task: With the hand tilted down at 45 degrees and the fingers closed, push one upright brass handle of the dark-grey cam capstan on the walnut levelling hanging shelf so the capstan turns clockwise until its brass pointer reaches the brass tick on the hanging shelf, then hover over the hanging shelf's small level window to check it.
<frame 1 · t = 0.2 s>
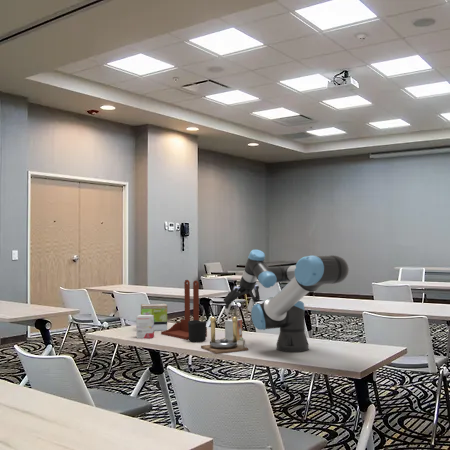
hand: (237, 311, 274), 15 cm above the table, tool tilted 35°, fingers open, 13 cm apart
hanging shelf: (183, 336, 293), on the table
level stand: (224, 349, 255), on the table
ink box: (145, 337, 288), on the table
cam capstan: (223, 331, 256), point 8 cm above the table, hinge at 0.0°
pen holder: (197, 341, 277), on the table
small box: (233, 340, 278), on the table
tea box: (153, 330, 314), on the table
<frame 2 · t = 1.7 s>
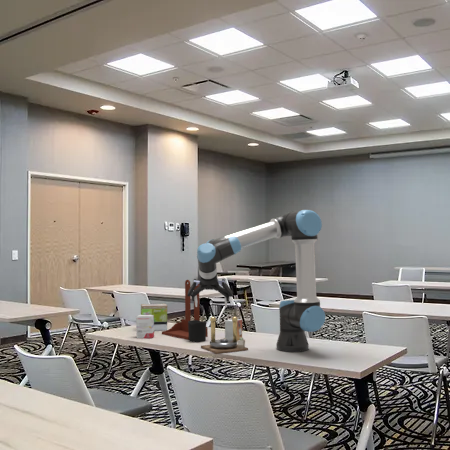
hand: (211, 304, 246), 22 cm above the table, tool tilted 45°, fingers open, 13 cm apart
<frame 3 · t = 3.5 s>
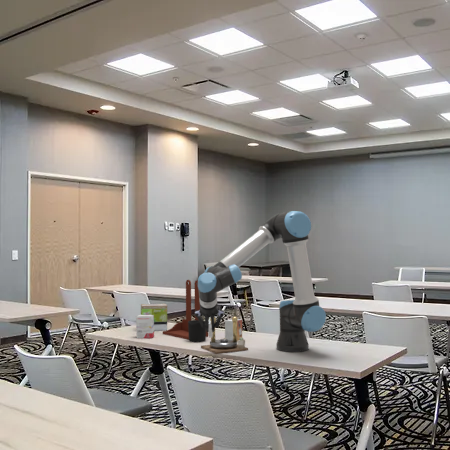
hand: (210, 335, 246), 8 cm above the table, tool tilted 45°, fingers closed
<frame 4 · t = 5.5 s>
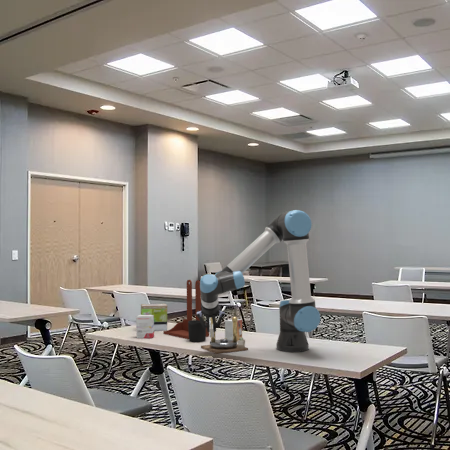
hand: (211, 334, 254), 7 cm above the table, tool tilted 45°, fingers closed
cam capstan: (223, 331, 256), point 8 cm above the table, hinge at 3.5°, touching gripper
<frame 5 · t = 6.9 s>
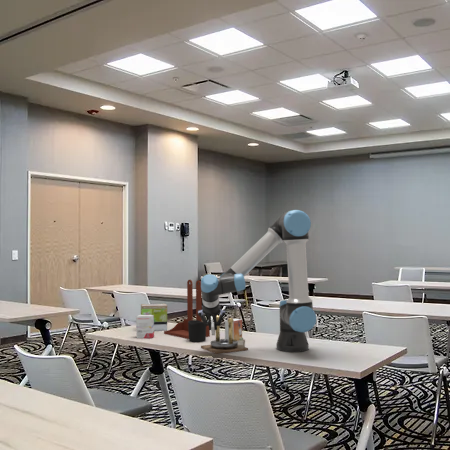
hand: (213, 333, 259), 7 cm above the table, tool tilted 45°, fingers closed
cam capstan: (224, 331, 256), point 8 cm above the table, hinge at 51.2°
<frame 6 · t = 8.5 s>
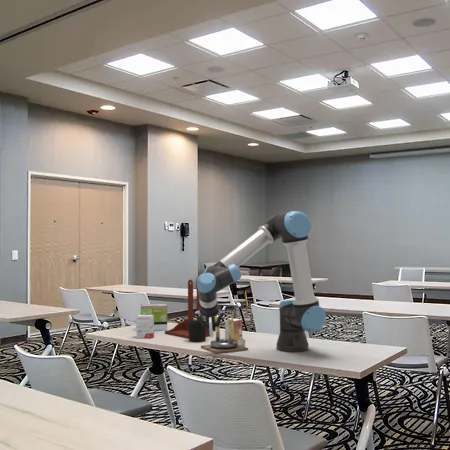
hand: (211, 334, 246), 9 cm above the table, tool tilted 45°, fingers closed
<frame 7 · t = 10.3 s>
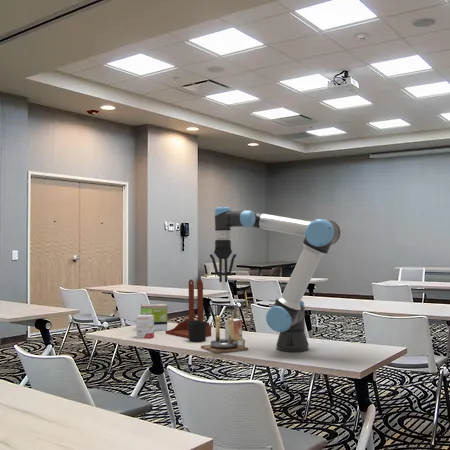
hand: (223, 289, 256), 28 cm above the table, tool pointing down, fingers closed
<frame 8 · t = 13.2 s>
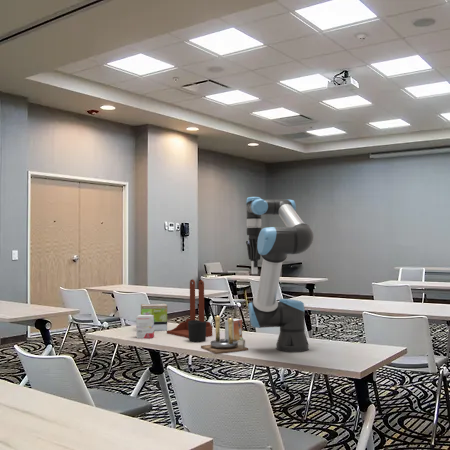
hand: (254, 273, 274), 34 cm above the table, tool pointing down, fingers closed
at the end: cam capstan at +51° (first picture: +0°); cam capstan touching nothing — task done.
